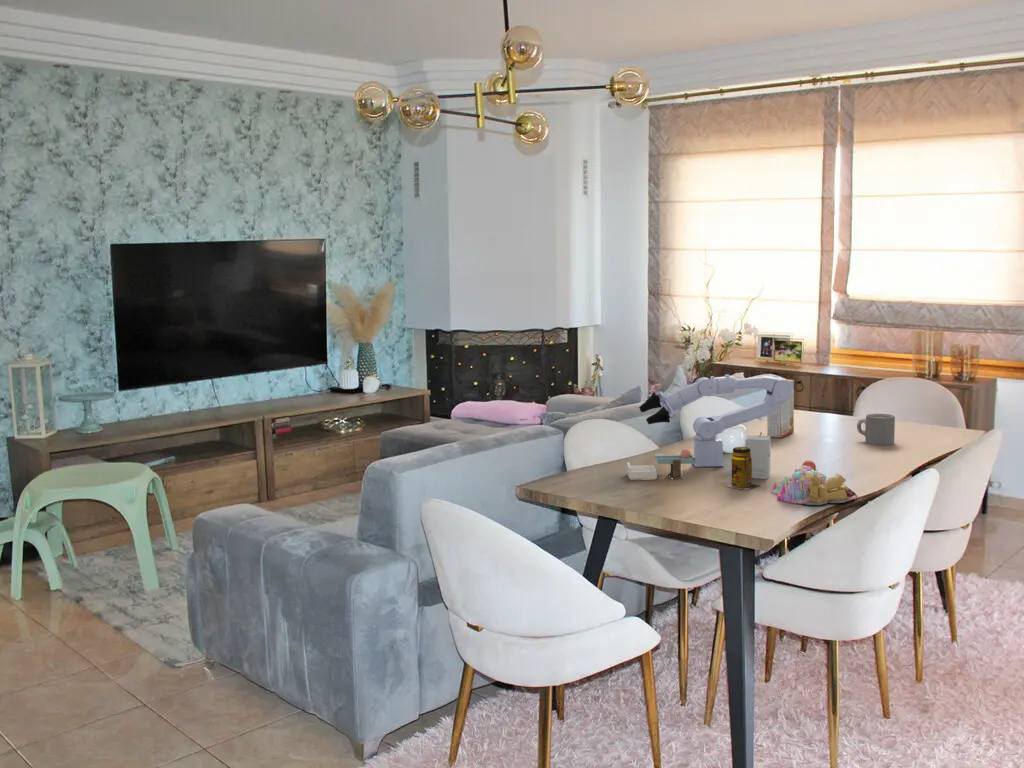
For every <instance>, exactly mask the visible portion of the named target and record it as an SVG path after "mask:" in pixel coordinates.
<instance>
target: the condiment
mask: <svg viewBox="0 0 1024 768" xmlns="http://www.w3.org/2000/svg"><path fill="white" fill-rule="evenodd" d="M750 451H751V450H750V448H747V447H745V446H737V447H733V449H732V457H731V469H730V470H731V484H730V485H726V487H727V488H728V487H729V488H733V489H738V490H745V491H747V490H750V489H753V488H755V487H759V486H761V485H762V484H760V483H759V484H758V483H752V481H753V480H752V479H753V478H752V458H751V456H750V455H751V453H750Z"/></svg>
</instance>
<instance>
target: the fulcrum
mask: <svg viewBox="0 0 1024 768" xmlns="http://www.w3.org/2000/svg"><path fill="white" fill-rule="evenodd" d="M681 465H682V464H681V460H673V464H670V471H667V475H668V474H669V475H668V477H669V476H670V477H669V479H670V478H673V480H684V478H685V477H684V476H683V474H682V468H681V467H682V466H681Z"/></svg>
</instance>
